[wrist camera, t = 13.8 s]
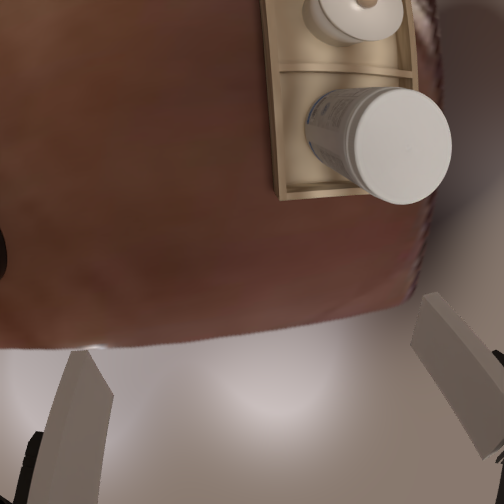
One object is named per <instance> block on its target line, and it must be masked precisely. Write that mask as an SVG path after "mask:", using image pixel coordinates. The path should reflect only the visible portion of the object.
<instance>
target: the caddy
mask: <svg viewBox="0 0 504 504" xmlns="http://www.w3.org/2000/svg"><path fill="white" fill-rule="evenodd" d="M304 1H305V0H259V2H260V12H261V23H262V34H263V46H264V58H265V70H266V83H267V96H268V110H269V124H270V139H271V154H272V171H273V188H274V192H275V194H276V196H277V197H278V199H279V201H284V200H296V199H307V198H319V197H332V196H346V195H361V194H370V193H368V192H367V191H365V190H363V189H362V188H360V187H359V186H357V185H356V184H354V183H353V182H351V181H350V180H348V179H347V178H345V177H344V176H342V175H341V174H339V173H338V172H336V171H334V170H333V169H331V168H330V167H328V166H326V165H325V164H324V163H322V162H321V161H320V160H318V158H317V157H316V156H315V155H314V154H313V152H312V151H311V149H310V147H309V145H308V142H307V139H306V135H305V121H306V117H307V114H308V112H309V109H310V108H311V106H312V105H313V103H314V102H315V101H316V100H317V99H318V98H319V97H321V96H322V95H324V94H325V93H327V92H330V91H333V90H339V89H350V88H366V87H401V88H406V89H411V90H415V91H418V68H417V53H416V41H415V30H414V21H413V13H412V6H411V0H402V4H403V20H402V23H401V25H400V27H399V29H398V30H397V31H396V32H395V33H394V34H393V35H391V36H390V37H388V38H385V39H382V40H378V41H364V42H361V43H358V44H355V45H352V46H348V47H335V46H331V45H328V44H326V43H324V42H322V41H320V40H318V39H317V38H316V37H315V36H314V35H313V34H312V33H311V32H310V31H309V30H308V28H307V27H306V25H305V22H304V20H303V15H302V7H303V3H304Z"/></svg>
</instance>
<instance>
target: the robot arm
mask: <svg viewBox="0 0 504 504" xmlns="http://www.w3.org/2000/svg"><path fill="white" fill-rule="evenodd" d="M6 263H7V255H6V247H5V243H4V239H3V236H2V234H1V231H0V279H1V278H2V277H3V275H4V272H5V269H6ZM410 345H411V347H412V348H413V350H414V351H415V353H416V354H417V356H418V357H419V359H420V360H421V362H422V363H423V364H424V366H425V367H426V369H427V371H428V372H429V374H430V375H431V377H432V378H433V380H434V381H435V382H436V384H437V386H438V387H439V389H440V390H441V392H442V394H443V395H444V396H445V398H446V400H447V401H448V403H449V405H450V406H451V408H452V409H453V411H454V413H455V414H456V416H457V417H458V419H459V421H460V422H461V424H462V426H463V427H464V429H465V431H466V432H467V434H468V436H469V437H470V439H471V441H472V443H473V444H474V446H475V448H476V449H477V451H478V453H479V455H480V457H481V458H482V460H485V459H487V458H488V457H490V456H491V455H493V454H494V453H496V452H497V451H498V450H499V449H500V448H501V447H502V446H503V445H504V354H502V353H501V352H499V351H497V350H494V351H492V352H491V351H490V350H489V349H488V348H487V346H486V345H485V344H484V343H483V342H482V340H481V339H480V338H479V337H478V336H477V335H476V334H475V332H474V331H473V330H472V329H471V328H470V327H469V326H468V325H467V323H466V322H465V321H464V320H463V319H462V318H461V317H460V316H459V315H458V313H457V312H456V311H455V310H454V309H453V308H452V307H451V306H450V305H449V304H448V303H447V302H446V301H445V299H444V298H443V297H442V296H441V295H440V294H439V293H438V292H434V293H430V294H427V295H423V296H422V301H421V305H420V310H419V313H418V317H417V321H416V325H415V329H414V333H413V336H412V340H411V343H410ZM113 397H114V395H113V393H112V391H111V390H110V388H109V387H108V385H107V383H106V381H105V380H104V378H103V377H102V375H101V373H100V371H99V370H98V368H97V366H96V364H95V362H94V361H93V359H92V357H91V355H90V354H89V352H88V350H84V351H71V354H70V356H69V359H68V362H67V364H66V367H65V370H64V373H63V375H62V378H61V381H60V384H59V387H58V389H57V392H56V395H55V398H54V401H53V405H52V408H51V411H50V414H49V417H48V420H47V424H46V427H45V430H44V432H38V431H36V432H35V434H34V435H33V437H32V438H31V439H30V441H29V442H28V445H27V449H26V452H25V457H24V460H23V467H22V468H21V471H20V475H19V480H18V484H17V489H16V493H15V498H14V501H13V504H97V503H98V495H99V486H100V477H101V470H102V462H103V455H104V449H105V442H106V436H107V429H108V424H109V419H110V413H111V408H112V403H113ZM503 457H504V451H503V452H502V453H501V454H500V455H499V456H498V457H497V460H496V462H495V463H498V462H499V461H500V460H501V459H502V458H503ZM501 464H503V468H502V473H501V479H500V484H499V489H498V494H497V499H496V503H495V504H504V459H503V461H502V462H501ZM0 504H12V503H11V502H9V501H8V500H6V499H5V498H3V497H2V496H1V495H0Z"/></svg>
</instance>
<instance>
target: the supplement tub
mask: <svg viewBox="0 0 504 504" xmlns="http://www.w3.org/2000/svg"><path fill="white" fill-rule="evenodd" d="M305 135H306V139H307V142H308V145H309V147H310V149H311V151H312V152H313V154H314V155H315V156H316V157H317V158H318V160H320V161H321V162H322V163H324V164H325V165H326V166H328V167H330V168H331V169H333V170H334V171H336V172H338V173H339V174H341V175H342V176H344V177H345V178H347V179H348V180H350V181H351V182H353V183H354V184H356V185H357V186H359V187H360V188H362V189H363V190H365V191H367V192H368V193H370V194H371V195H373V196H375V197H377V198H380V199H382V200H384V201H387V202H390V203H393V204H411V203H415V202H417V201H420V200H422V199H424V198H425V197H427V196H428V195H430V194H431V193H432V192H433V191H434V190H435V189H436V188H437V187H438V185H439V184H440V183H441V181H442V180H443V178H444V176H445V174H446V172H447V169H448V166H449V163H450V159H451V149H452V142H451V135H450V129H449V126H448V124H447V121H446V118H445V116H444V115H443V113H442V111H441V110H440V108H439V107H438V106H437V105H436V104H435V103H434V102H433V101H432V100H431V99H430V98H429V97H427V96H426V95H424V94H422V93H420V92H418V91H415V90H411V89H406V88H401V87H366V88H350V89H339V90H333V91H330V92H327V93H325V94H324V95H322V96H321V97H319V98H318V99H317V100H316V101H315V102H314V103H313V105H312V106H311V108H310V109H309V112H308V114H307V117H306V121H305Z"/></svg>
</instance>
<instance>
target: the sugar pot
mask: <svg viewBox="0 0 504 504" xmlns="http://www.w3.org/2000/svg"><path fill="white" fill-rule="evenodd" d="M302 15H303V20H304V22H305V25H306V27H307V28H308V30H309V31H310V32H311V33H312V34H313V35H314V36H315V37H316V38H317V39H318V40H320V41H322V42H324V43H326V44H328V45H331V46H335V47H348V46H352V45H355V44H358V43H361V42H364V41H378V40H382V39H385V38H388V37H390V36H391V35H393V34H394V33H395V32H396V31H397V30H398V29H399V27H400V25H401V23H402V20H403V4H402V0H305V1H304V3H303V7H302Z"/></svg>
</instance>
